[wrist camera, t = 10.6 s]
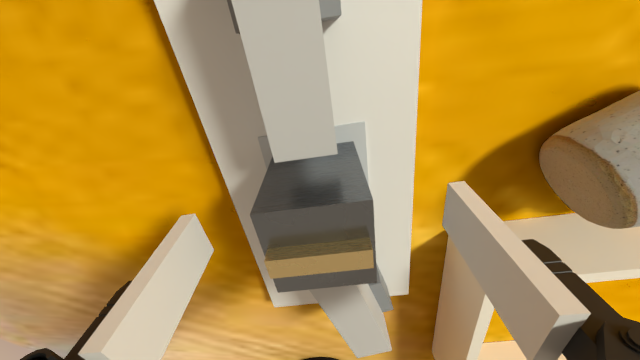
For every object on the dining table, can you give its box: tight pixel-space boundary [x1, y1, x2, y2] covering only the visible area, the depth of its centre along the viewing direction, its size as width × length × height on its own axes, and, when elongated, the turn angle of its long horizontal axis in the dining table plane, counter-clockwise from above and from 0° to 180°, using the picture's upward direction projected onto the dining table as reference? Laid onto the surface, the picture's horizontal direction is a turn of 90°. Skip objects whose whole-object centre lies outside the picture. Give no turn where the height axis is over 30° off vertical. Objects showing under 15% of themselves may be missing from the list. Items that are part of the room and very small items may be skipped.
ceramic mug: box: [539, 91, 640, 229], centre depth 16 cm, size 11×8×8 cm
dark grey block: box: [250, 141, 377, 293], centre depth 15 cm, size 6×6×8 cm
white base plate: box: [154, 0, 422, 358], centre depth 17 cm, size 30×14×7 cm, turn 8°
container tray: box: [432, 213, 640, 360], centre depth 25 cm, size 22×32×6 cm
